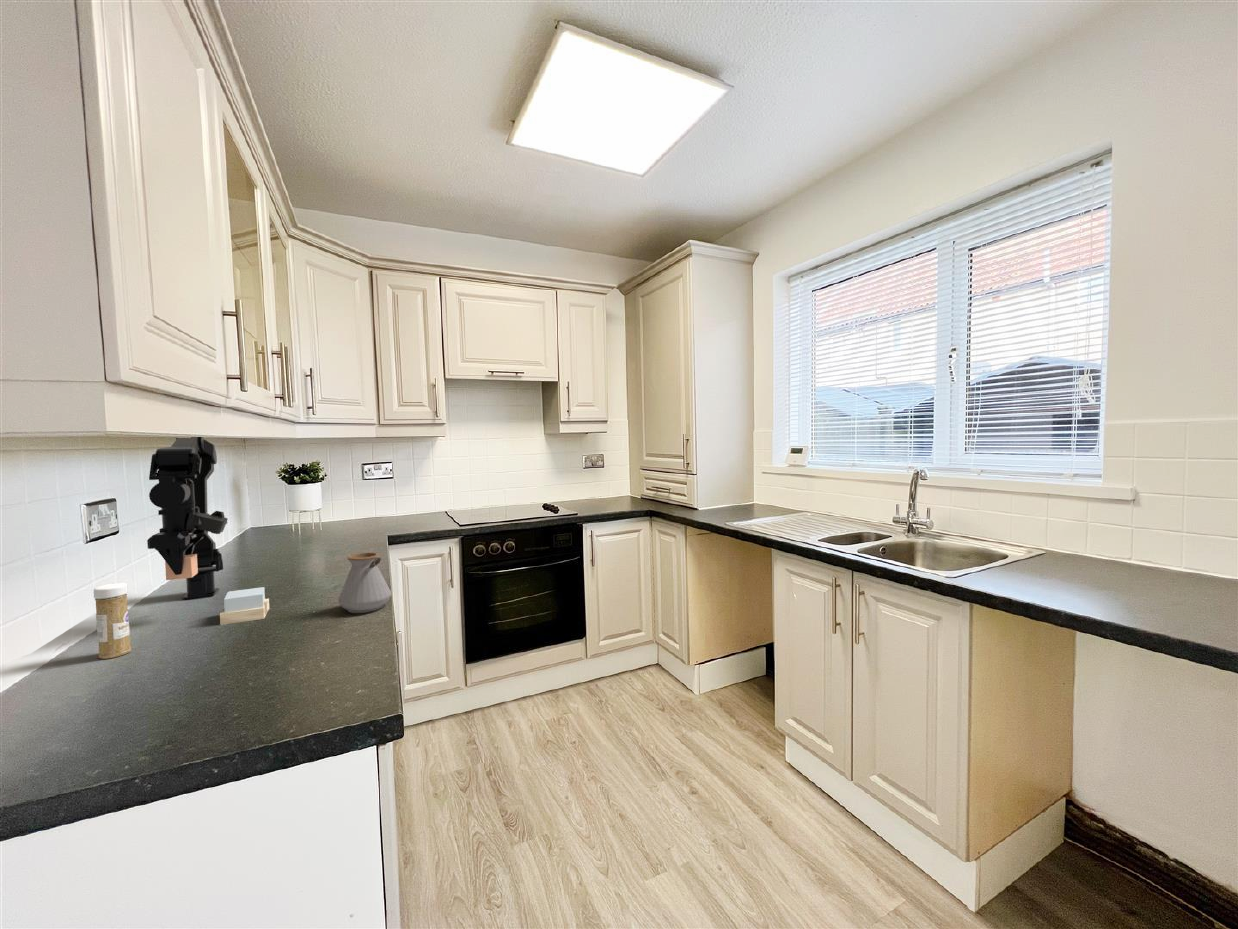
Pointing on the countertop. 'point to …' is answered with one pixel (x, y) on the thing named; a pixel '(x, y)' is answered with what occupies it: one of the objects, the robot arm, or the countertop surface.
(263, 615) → the oak base slab
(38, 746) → the countertop surface
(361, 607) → the coffee pot
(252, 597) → the grey-blue top slab
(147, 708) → the countertop surface
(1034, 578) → the countertop surface
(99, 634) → the sprinkles bottle
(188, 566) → the terracotta cube
